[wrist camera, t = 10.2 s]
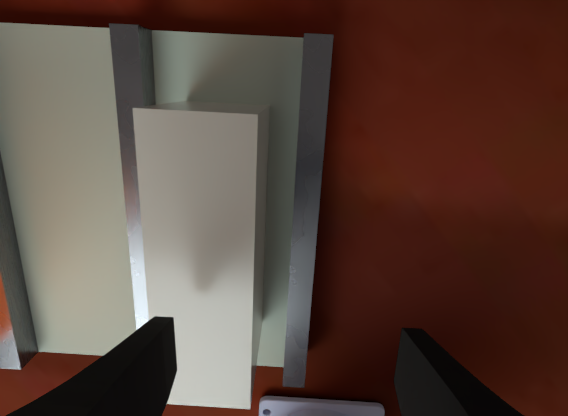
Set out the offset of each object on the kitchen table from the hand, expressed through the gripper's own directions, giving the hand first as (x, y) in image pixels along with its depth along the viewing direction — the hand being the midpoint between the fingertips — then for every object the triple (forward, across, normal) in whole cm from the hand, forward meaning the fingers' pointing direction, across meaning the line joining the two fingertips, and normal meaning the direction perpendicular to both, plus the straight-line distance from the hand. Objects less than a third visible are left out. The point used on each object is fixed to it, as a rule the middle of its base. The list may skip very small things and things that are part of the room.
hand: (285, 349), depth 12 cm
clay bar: (+8, +3, -1) cm, 9 cm away
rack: (+9, +7, -1) cm, 12 cm away
